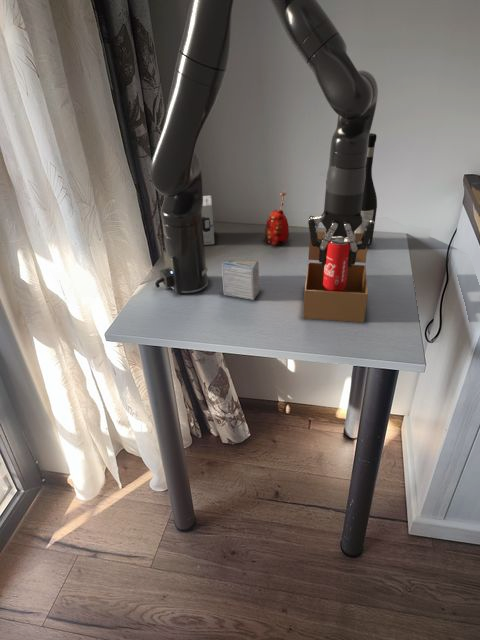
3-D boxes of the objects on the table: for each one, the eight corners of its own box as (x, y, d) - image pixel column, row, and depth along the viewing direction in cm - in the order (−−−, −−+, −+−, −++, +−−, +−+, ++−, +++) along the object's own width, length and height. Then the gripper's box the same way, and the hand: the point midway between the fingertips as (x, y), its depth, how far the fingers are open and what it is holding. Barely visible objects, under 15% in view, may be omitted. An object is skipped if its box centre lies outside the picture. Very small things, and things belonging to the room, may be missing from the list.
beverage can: (346, 294, 107) (353, 244, 100) (323, 294, 107) (328, 244, 100) (344, 283, 111) (349, 234, 104) (321, 282, 111) (325, 234, 104)
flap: (308, 259, 115) (308, 259, 115) (365, 262, 113) (365, 262, 114) (310, 231, 113) (310, 231, 113) (368, 233, 111) (368, 233, 112)
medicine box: (259, 292, 119) (259, 260, 113) (253, 301, 115) (252, 268, 110) (230, 287, 121) (228, 255, 115) (223, 295, 117) (221, 263, 112)
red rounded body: (261, 238, 144) (260, 188, 135) (282, 234, 146) (283, 185, 137) (272, 248, 138) (272, 197, 129) (293, 244, 141) (295, 193, 132)
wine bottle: (368, 251, 136) (383, 139, 118) (341, 247, 139) (351, 136, 121) (374, 240, 142) (389, 131, 124) (347, 236, 145) (358, 129, 126)
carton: (306, 288, 120) (308, 262, 115) (361, 291, 118) (365, 265, 114) (303, 318, 109) (304, 290, 105) (363, 322, 107) (367, 294, 103)
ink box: (198, 233, 147) (194, 195, 140) (214, 232, 148) (211, 194, 141) (198, 245, 140) (194, 206, 133) (214, 244, 141) (212, 205, 134)
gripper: (307, 191, 93) (302, 270, 103) (382, 195, 92) (370, 274, 102) (309, 179, 99) (305, 254, 109) (380, 182, 98) (368, 258, 108)
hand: (336, 264), depth 106 cm, fingers closed on beverage can, 5 cm apart
